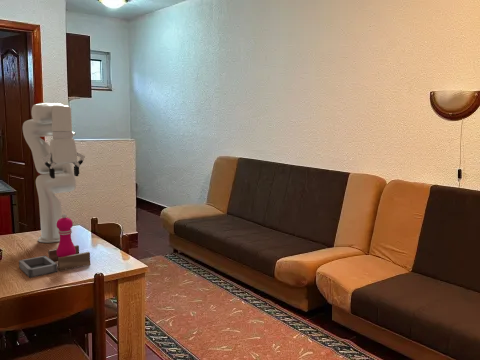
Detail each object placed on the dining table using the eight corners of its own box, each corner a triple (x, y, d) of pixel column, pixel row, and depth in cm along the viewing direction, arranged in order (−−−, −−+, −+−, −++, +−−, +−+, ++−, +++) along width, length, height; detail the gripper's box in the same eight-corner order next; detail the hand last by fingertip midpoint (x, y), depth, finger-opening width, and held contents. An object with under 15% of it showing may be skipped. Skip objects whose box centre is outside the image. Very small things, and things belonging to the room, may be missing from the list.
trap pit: (19, 267, 180) (18, 260, 179) (45, 262, 186) (45, 255, 186) (29, 277, 169) (29, 270, 169) (57, 272, 175) (57, 264, 175)
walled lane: (48, 262, 186) (48, 250, 186) (78, 256, 194) (77, 245, 193) (59, 271, 176) (58, 258, 176) (90, 264, 184) (89, 252, 183)
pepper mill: (70, 266, 181) (67, 216, 178) (53, 265, 182) (50, 215, 179) (79, 260, 188) (77, 212, 185) (63, 259, 189) (61, 211, 186)
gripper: (80, 134, 198) (82, 174, 200) (37, 136, 187) (40, 177, 189) (86, 135, 192) (88, 176, 194) (43, 136, 181) (46, 180, 184)
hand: (64, 177), depth 192 cm, fingers open, 9 cm apart
